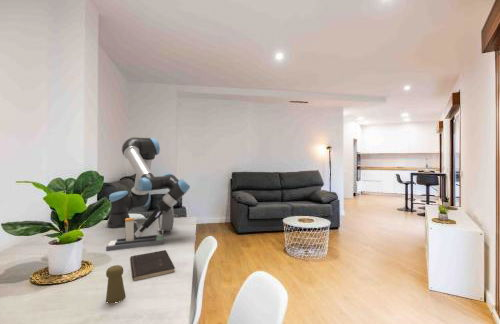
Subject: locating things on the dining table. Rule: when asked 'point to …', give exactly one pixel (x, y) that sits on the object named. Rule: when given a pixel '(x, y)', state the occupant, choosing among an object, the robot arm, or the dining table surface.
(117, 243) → the panel
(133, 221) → the electrical switch
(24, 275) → the dining table surface
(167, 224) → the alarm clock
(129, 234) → the breaker handle
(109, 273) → the cork
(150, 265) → the hardcover book
